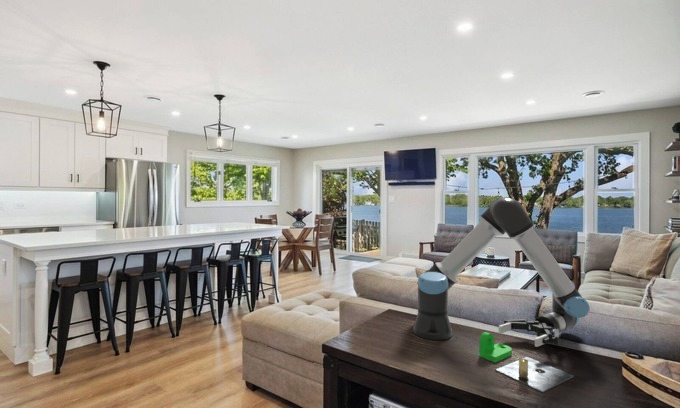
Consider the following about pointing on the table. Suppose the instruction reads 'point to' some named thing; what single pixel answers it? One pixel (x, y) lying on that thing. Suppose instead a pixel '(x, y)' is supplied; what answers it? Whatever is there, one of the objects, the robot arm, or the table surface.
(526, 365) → the bolt plate
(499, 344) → the mechanical part
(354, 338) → the table surface
